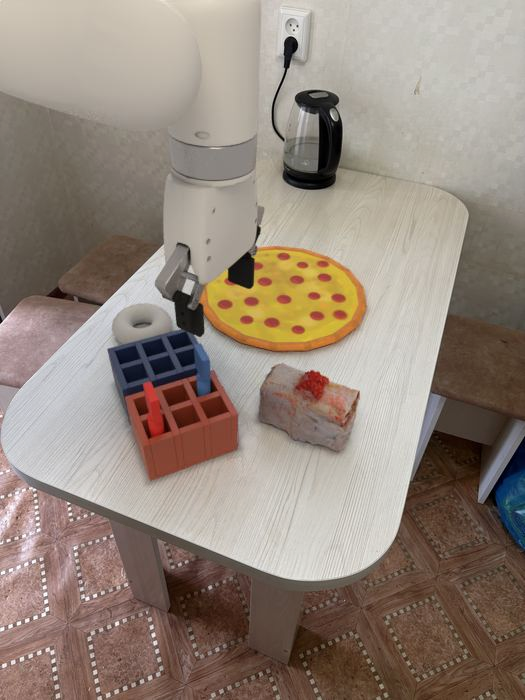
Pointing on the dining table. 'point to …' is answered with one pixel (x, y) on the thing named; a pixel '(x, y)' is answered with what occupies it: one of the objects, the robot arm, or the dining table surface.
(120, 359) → the blue caddy
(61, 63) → the robot arm
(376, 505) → the dining table surface
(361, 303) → the pizza
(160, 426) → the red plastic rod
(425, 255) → the dining table surface
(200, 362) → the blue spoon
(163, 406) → the red caddy
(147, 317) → the donut
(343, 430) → the food item
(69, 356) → the dining table surface
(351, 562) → the dining table surface
